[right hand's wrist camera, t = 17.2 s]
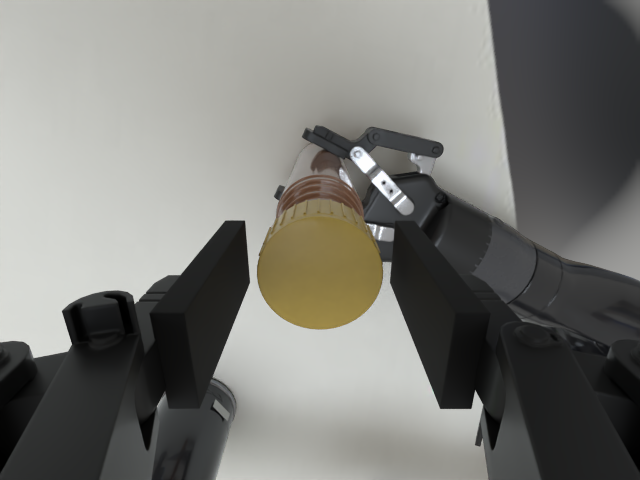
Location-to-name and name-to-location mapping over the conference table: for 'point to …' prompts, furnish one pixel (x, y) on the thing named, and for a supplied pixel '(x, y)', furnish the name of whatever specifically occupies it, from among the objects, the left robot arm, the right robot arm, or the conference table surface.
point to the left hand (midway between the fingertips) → (291, 162)
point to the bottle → (319, 181)
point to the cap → (319, 265)
